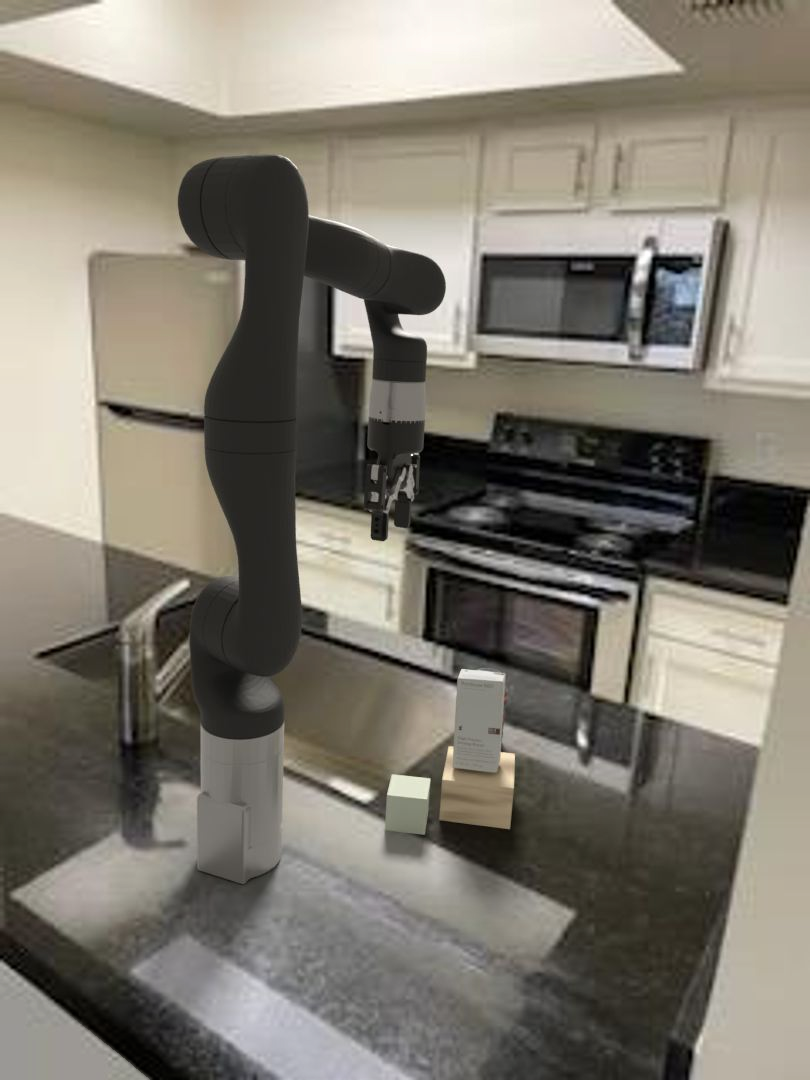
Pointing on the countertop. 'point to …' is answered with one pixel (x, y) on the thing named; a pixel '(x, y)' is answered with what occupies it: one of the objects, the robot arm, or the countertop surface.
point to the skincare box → (478, 720)
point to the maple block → (478, 793)
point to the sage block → (407, 804)
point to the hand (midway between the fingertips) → (390, 533)
